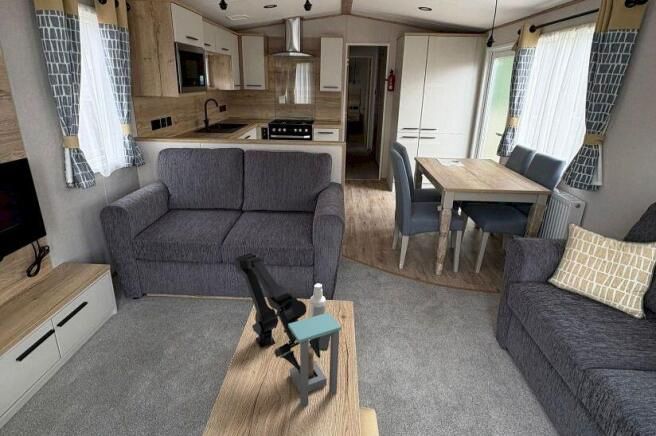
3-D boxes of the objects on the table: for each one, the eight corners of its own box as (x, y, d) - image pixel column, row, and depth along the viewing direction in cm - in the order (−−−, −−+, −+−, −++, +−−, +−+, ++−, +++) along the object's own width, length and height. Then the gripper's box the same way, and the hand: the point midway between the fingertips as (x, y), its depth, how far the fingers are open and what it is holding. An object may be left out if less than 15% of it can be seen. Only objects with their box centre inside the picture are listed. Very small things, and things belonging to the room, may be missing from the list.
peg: (300, 381, 138) (300, 352, 133) (306, 374, 141) (306, 345, 136) (309, 385, 136) (309, 356, 131) (315, 378, 139) (315, 349, 134)
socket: (290, 375, 140) (289, 368, 139) (314, 366, 145) (314, 360, 144) (300, 394, 132) (300, 387, 131) (326, 384, 136) (326, 378, 135)
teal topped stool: (289, 387, 135) (288, 323, 125) (326, 374, 141) (328, 312, 132) (300, 407, 127) (299, 340, 117) (339, 392, 133) (342, 327, 124)
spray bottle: (319, 326, 168) (320, 291, 161) (307, 321, 171) (307, 286, 165) (327, 318, 173) (328, 284, 167) (315, 313, 177) (315, 279, 170)
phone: (309, 347, 154) (315, 325, 168) (309, 349, 154) (315, 326, 168) (327, 350, 153) (332, 326, 167) (327, 351, 153) (332, 328, 167)
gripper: (278, 328, 127) (299, 372, 123) (320, 307, 138) (340, 347, 135) (266, 336, 135) (285, 378, 131) (306, 315, 147) (325, 353, 143)
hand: (309, 363), depth 135 cm, fingers open, 9 cm apart
